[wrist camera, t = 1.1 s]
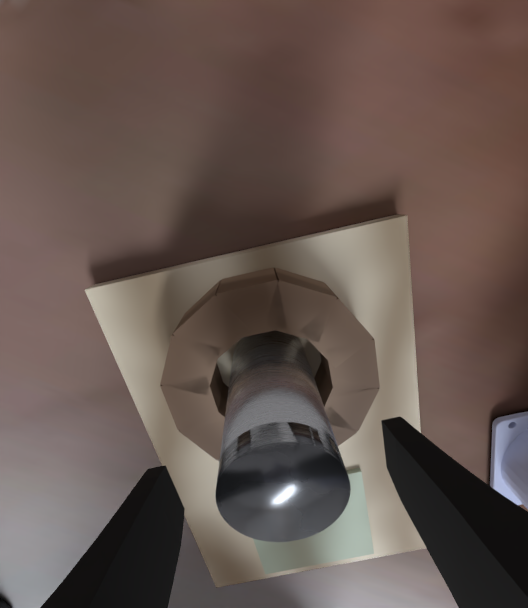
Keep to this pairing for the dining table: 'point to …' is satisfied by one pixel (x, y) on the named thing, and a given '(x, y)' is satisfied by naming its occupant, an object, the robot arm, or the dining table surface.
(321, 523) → the pin
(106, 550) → the robot arm
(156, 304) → the board
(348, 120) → the dining table surface
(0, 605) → the supplement bottle
